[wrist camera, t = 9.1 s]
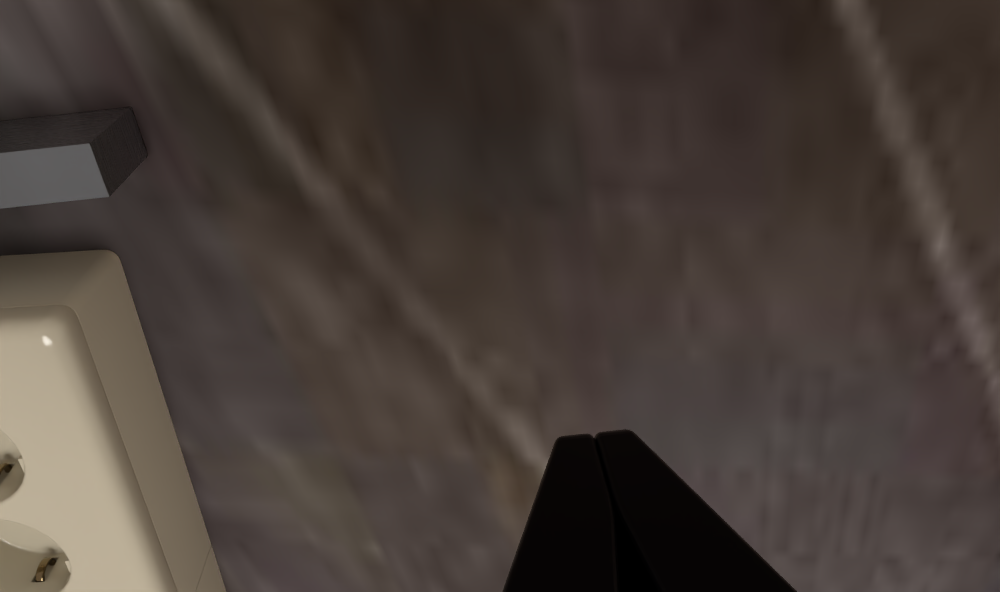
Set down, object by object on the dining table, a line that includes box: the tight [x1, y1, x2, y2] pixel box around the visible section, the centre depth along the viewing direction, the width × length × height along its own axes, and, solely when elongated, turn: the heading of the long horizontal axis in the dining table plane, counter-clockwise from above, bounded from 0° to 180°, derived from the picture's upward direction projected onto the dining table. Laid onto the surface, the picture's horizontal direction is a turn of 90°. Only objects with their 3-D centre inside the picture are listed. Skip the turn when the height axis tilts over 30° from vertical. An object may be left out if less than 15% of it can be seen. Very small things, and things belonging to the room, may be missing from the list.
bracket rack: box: [0, 107, 148, 209], centre depth 23 cm, size 23×11×2 cm, turn 5°
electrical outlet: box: [0, 250, 226, 592], centre depth 24 cm, size 7×4×18 cm
